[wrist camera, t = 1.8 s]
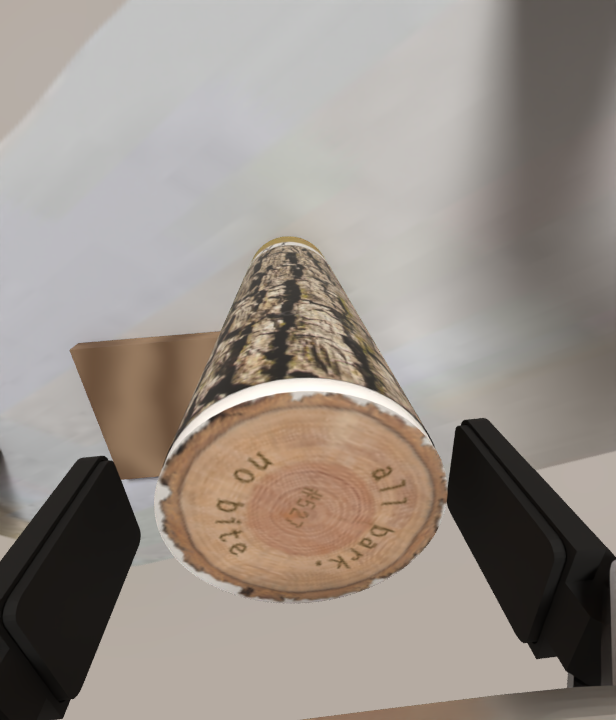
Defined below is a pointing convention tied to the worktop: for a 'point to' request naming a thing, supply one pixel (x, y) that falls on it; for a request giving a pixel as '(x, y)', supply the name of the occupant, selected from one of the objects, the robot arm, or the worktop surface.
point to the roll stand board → (142, 393)
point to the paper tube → (298, 447)
